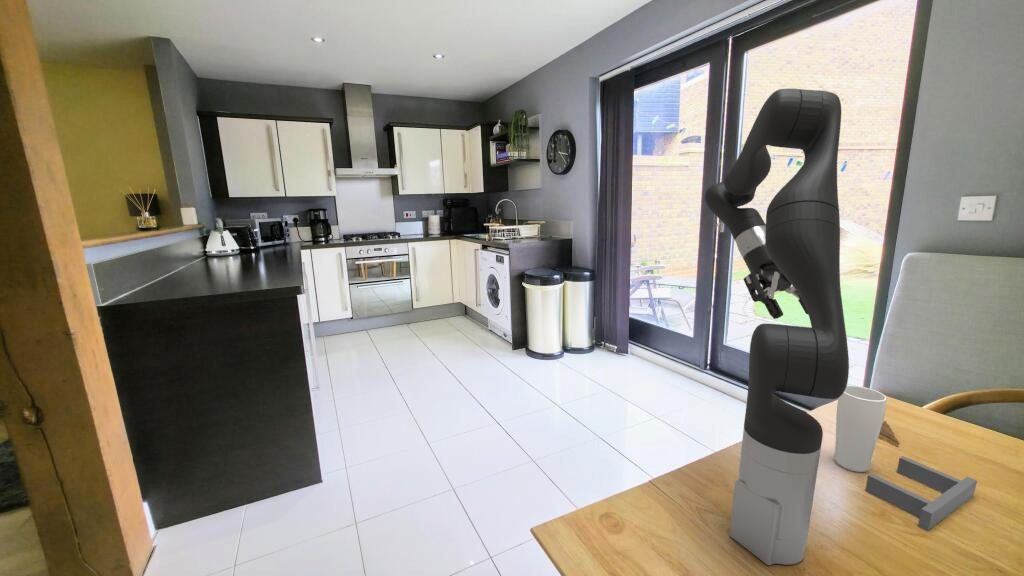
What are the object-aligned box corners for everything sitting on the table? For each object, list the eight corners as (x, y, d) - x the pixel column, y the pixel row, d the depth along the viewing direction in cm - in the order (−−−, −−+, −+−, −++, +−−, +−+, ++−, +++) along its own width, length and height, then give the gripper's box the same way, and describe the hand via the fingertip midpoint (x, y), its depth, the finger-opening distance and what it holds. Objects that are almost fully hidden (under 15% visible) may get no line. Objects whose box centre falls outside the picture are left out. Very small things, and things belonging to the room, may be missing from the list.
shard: (898, 450, 84) (900, 442, 84) (851, 439, 88) (852, 432, 87) (885, 426, 93) (886, 418, 93) (842, 417, 97) (844, 410, 97)
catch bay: (928, 530, 62) (931, 513, 62) (858, 494, 70) (861, 479, 70) (973, 496, 70) (977, 480, 69) (905, 466, 78) (908, 452, 77)
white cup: (875, 464, 79) (888, 392, 76) (873, 481, 74) (887, 404, 71) (831, 450, 83) (841, 381, 80) (826, 465, 78) (837, 393, 75)
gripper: (744, 243, 88) (780, 311, 80) (798, 238, 91) (837, 303, 84) (723, 261, 94) (755, 326, 87) (774, 256, 97) (809, 318, 90)
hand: (795, 315), depth 85 cm, fingers open, 8 cm apart
